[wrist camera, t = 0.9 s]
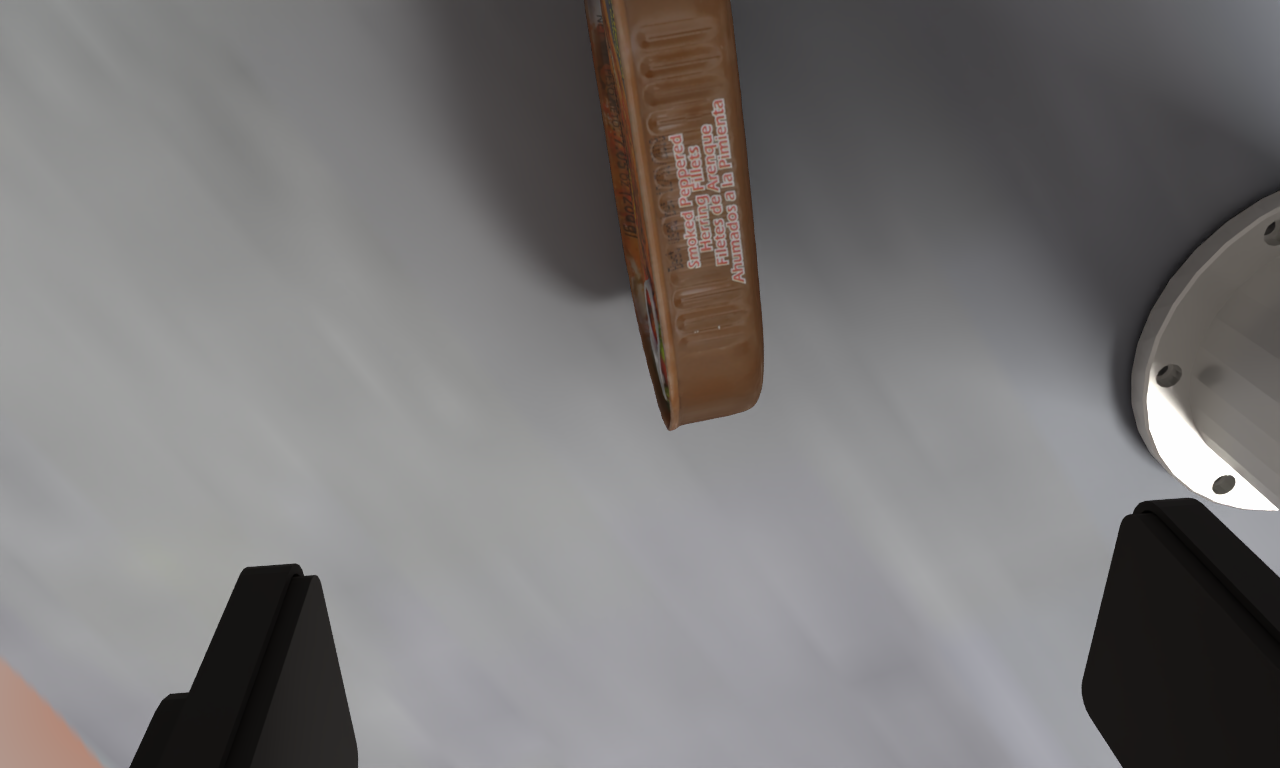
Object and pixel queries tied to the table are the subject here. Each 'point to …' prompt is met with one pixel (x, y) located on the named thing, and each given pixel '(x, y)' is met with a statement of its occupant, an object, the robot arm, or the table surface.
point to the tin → (683, 198)
